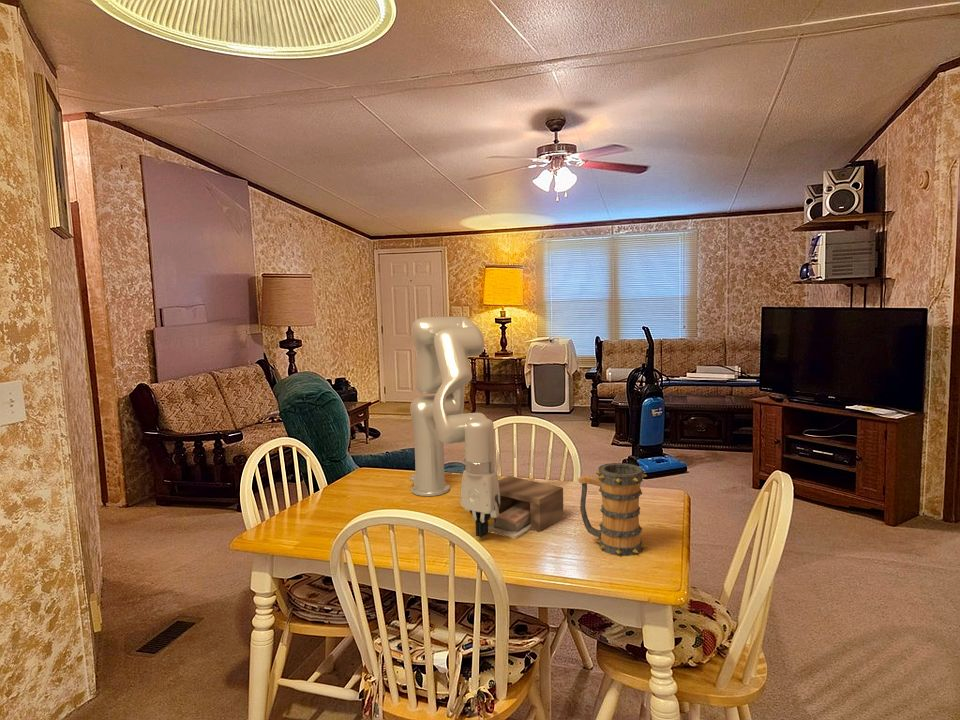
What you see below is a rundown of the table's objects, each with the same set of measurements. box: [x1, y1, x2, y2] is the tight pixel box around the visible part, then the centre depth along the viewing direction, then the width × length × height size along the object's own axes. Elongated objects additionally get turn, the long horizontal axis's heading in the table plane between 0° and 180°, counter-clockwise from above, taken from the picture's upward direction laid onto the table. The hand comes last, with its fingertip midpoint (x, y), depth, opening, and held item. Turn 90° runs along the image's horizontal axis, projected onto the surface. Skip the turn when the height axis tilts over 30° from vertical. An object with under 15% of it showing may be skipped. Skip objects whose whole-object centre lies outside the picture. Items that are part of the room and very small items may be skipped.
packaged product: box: [488, 501, 531, 539], centre depth 163 cm, size 18×5×10 cm
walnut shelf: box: [493, 475, 564, 532], centre depth 167 cm, size 19×12×9 cm, turn 51°
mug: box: [576, 462, 648, 557], centre depth 146 cm, size 13×17×20 cm
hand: (482, 534), depth 153 cm, fingers closed
